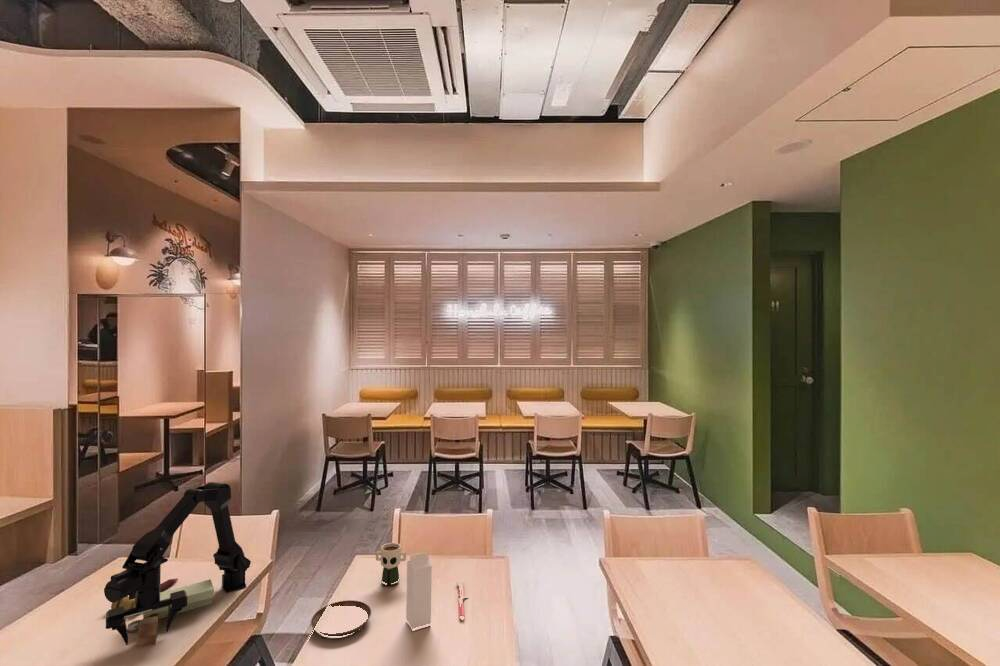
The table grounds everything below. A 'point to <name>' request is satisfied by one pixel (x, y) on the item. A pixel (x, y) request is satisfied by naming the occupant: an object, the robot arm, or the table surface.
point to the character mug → (390, 561)
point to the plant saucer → (342, 603)
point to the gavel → (131, 603)
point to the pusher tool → (148, 631)
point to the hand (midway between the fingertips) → (147, 637)
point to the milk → (419, 590)
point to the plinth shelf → (196, 598)
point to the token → (133, 626)
